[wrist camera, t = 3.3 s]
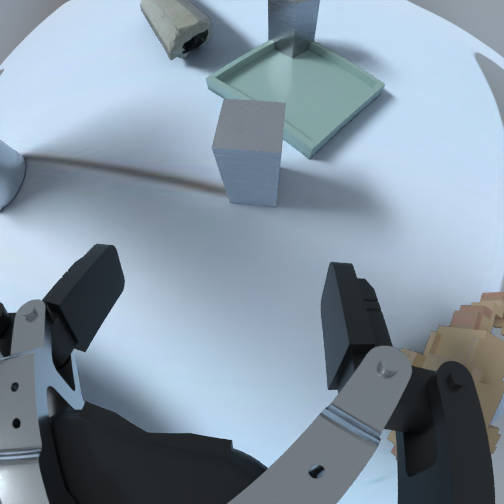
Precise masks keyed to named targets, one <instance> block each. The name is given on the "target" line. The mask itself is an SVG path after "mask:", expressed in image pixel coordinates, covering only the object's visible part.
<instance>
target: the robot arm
mask: <svg viewBox="0 0 504 504" xmlns="http://www.w3.org/2000/svg"><path fill="white" fill-rule="evenodd" d="M25 169H26V162H25V159H24V157H23V156H21V155H20V154H19V153H18V152H16V151H15V150H13V149H12V148H10V147H9V146H8V145H7V144H5V143H4V142H3V141H1V140H0V210H1V209H2V208H3V207H5V206H7V205H8V204H9V203H10V202H11V201H12V199H13V198H14V197H15V195H16V193H17V192H18V190H19V188H20V185H21V183H22V180H23V178H24V174H25ZM124 284H125V280H124V275H123V271H122V268H121V264H120V261H119V257H118V253H117V250H116V248H115V246H113V245H105V244H96V245H94V246H93V247H92V248H91V249H90V250H89V251H88V253H87V254H86V255H85V256H84V257H82V258H81V259H79V260H78V261H76V262H75V263H74V264H73V265H72V266H71V267H70V268H69V270H68V272H66V273H65V274H64V275H63V276H62V278H60V280H59V281H58V282H57V283H56V284H55V285H54V287H53V288H52V289H51V290H50V291H49V292H48V294H47V295H46V296H45V297H44V298H43V300H42V301H41V300H31V301H29V302H27V303H25V304H24V305H23V306H21V307H20V309H19V310H18V311H17V313H7V311H6V309H5V307H4V306H3V304H2V303H0V353H1V355H2V356H3V357H2V358H1V359H0V504H336V503H337V502H338V501H339V500H340V499H341V497H342V496H343V495H344V494H345V493H346V491H347V490H348V489H349V487H350V486H351V485H352V484H353V482H354V481H355V480H356V478H357V477H358V476H359V474H360V473H361V471H362V470H363V469H364V467H365V466H366V464H367V463H368V461H369V460H370V458H371V457H372V455H373V454H374V452H375V451H376V449H377V447H378V445H379V443H380V440H381V439H380V438H379V436H380V434H381V432H382V430H383V429H389V430H394V431H395V433H396V446H397V465H398V504H495V489H494V476H493V467H492V459H491V452H490V446H489V440H488V435H487V430H486V425H485V421H484V417H483V413H482V409H481V405H480V401H479V397H478V394H477V390H476V387H475V384H474V381H473V378H472V375H471V373H470V372H469V370H468V369H467V368H466V367H465V366H464V365H462V364H461V363H459V362H456V361H447V362H444V363H443V364H442V365H441V366H440V367H439V368H438V369H437V370H436V371H433V370H428V369H424V368H420V367H415V366H412V365H411V363H410V361H409V359H408V358H407V356H406V355H405V354H404V353H403V352H402V351H400V350H398V349H396V348H394V347H393V346H392V343H391V340H390V336H389V333H388V330H387V326H386V323H385V320H384V317H383V314H382V311H381V308H380V305H379V302H378V299H377V296H376V294H375V291H374V288H373V287H372V286H371V285H370V284H369V283H368V282H367V281H366V280H365V279H360V278H357V277H356V273H355V270H354V267H353V265H352V264H351V263H338V262H331V263H330V265H329V268H328V273H327V277H326V281H325V286H324V290H323V294H322V299H321V319H322V328H323V338H324V348H325V360H326V372H327V386H328V390H338V395H337V397H336V398H335V399H334V400H333V402H332V403H331V404H330V405H329V406H328V407H326V408H325V409H324V410H323V411H322V412H321V413H320V414H319V416H318V417H317V418H316V419H315V420H314V421H313V423H312V424H311V425H310V426H309V427H308V428H307V429H306V430H305V432H304V433H303V434H302V435H301V436H300V437H299V438H298V439H297V440H296V441H295V442H294V443H293V444H292V446H291V447H290V448H289V449H288V450H287V451H286V452H285V453H284V454H283V455H282V456H281V457H280V458H279V459H278V460H277V461H276V462H275V463H274V464H272V465H271V466H270V467H269V468H267V467H266V466H265V465H263V464H262V463H261V462H260V461H258V460H256V459H255V458H253V457H252V456H250V455H248V454H246V453H244V452H242V451H239V450H237V449H234V448H233V444H232V440H227V439H220V438H214V437H208V436H202V435H197V434H192V433H148V432H145V431H143V430H142V429H140V428H138V427H137V426H135V425H133V424H132V423H130V422H129V421H127V420H126V419H124V418H122V417H121V416H119V415H118V414H116V413H115V412H112V411H109V410H106V409H104V408H101V407H99V406H96V405H93V404H91V403H88V402H86V401H85V402H84V400H83V397H82V394H81V389H80V383H79V377H78V370H77V363H76V357H75V355H74V353H73V352H72V351H73V349H77V350H80V351H83V352H86V350H87V348H88V347H89V345H90V343H91V341H92V340H93V338H94V336H95V335H96V333H97V331H98V330H99V328H100V326H101V325H102V323H103V321H104V320H105V318H106V317H107V315H108V313H109V312H110V310H111V309H112V307H113V306H114V304H115V302H116V301H117V299H118V298H119V296H120V295H121V293H122V292H123V289H124Z"/></svg>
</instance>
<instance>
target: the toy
mask: <svg viewBox="0 0 504 504" xmlns="http://www.w3.org/2000/svg"><path fill="white" fill-rule="evenodd" d="M493 326H494V327H495V328H502V331H501V334H502V335H503V336H504V292H495V293H482V296H481V300H480V303H471V305H461V308H460V311H454V314H453V318H452V321H451V324H450V327H446V326H439V327H438V330H437V332H433V331H431V334H430V337H429V340H428V342H427V345H426V348H425V350H424V353H423V355H422V354H420V353H417V352H414V351H410V350H407V349H403V348H402V350H401V351H402V352H403V353H404V354H405V355H406V356H407V358H408V359H409V361H410V363H411V365H412V366H415V367H420V368H424V369H428V370H433V371H436V370H437V369H438V368H439V367H440V366H441V365H442V364H443V363H444V362H447V361H456V362H459V363H461V364H462V365H464V366H465V367H466V368H467V369H468V370H469V372H470V373H471V375H472V378H473V381H474V384H475V387H476V390H477V394H478V397H479V401H480V405H481V409H482V413H483V417H484V421H485V425H486V430H487V435H488V440H489V446H490V452H491V454H493V453H494V451H495V449H496V447H495V445H496V444H497V442H498V440H499V438H500V436H501V435H499V434H497V433H498V431H499V428H497V427H494V426H492V425H489V424H490V422H491V420H492V418H493V416H494V414H495V412H496V410H497V407H498V405H499V403H500V400H501V398H502V396H503V393H504V381H502V380H503V377H504V342H503V341H501V340H500V339H498V338H497V337H495V336H494V335H492V334H491V330H492V327H493ZM387 439H388V440H389V441H391V442H392V443H393V444H394V445H395V446H394V448H393V449H392V451H391V453H392V454H394V455H395V456H396V457H397V446H396V433H395V431H394V430H392V431H391V433H390V434H389V436H388V438H387ZM396 460H397V458H396Z"/></svg>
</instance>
